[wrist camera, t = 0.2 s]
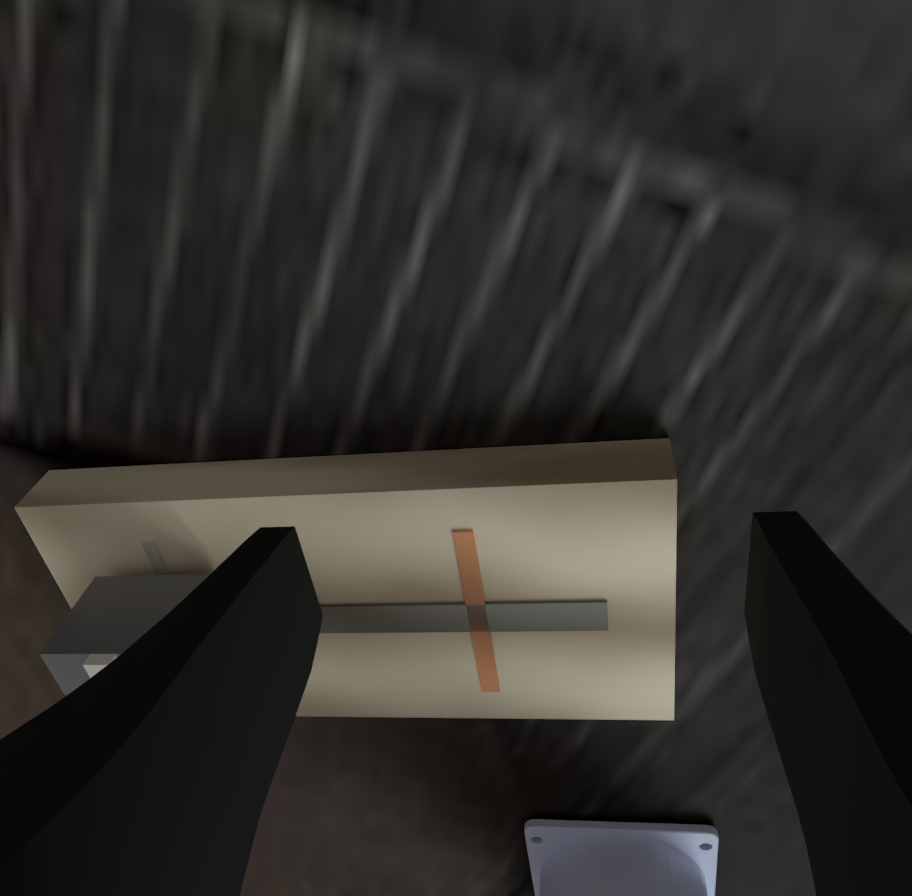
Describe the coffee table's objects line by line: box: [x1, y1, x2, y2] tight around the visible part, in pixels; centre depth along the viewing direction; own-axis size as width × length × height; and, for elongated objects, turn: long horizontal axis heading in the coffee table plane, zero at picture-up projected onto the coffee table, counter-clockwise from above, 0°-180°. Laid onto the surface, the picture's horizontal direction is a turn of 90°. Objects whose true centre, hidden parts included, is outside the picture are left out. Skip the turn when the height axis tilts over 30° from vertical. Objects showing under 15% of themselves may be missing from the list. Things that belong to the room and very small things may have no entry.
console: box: [14, 438, 677, 720], centre depth 26 cm, size 10×20×2 cm, turn 98°
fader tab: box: [40, 574, 210, 696], centre depth 25 cm, size 5×4×4 cm
